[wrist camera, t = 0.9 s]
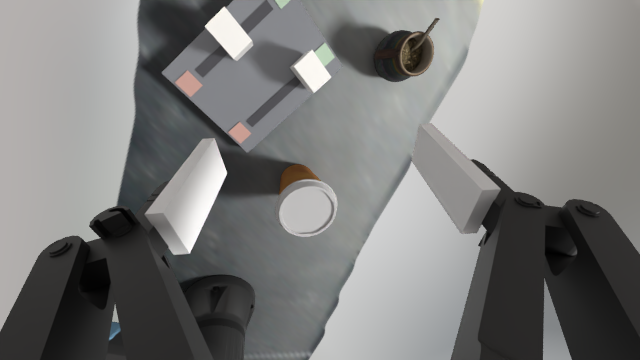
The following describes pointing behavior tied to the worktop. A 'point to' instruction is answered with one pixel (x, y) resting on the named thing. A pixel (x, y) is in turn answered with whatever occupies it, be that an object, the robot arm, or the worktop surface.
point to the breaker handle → (310, 71)
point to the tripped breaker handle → (229, 34)
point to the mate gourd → (404, 54)
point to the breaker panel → (252, 69)
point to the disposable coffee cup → (304, 202)
